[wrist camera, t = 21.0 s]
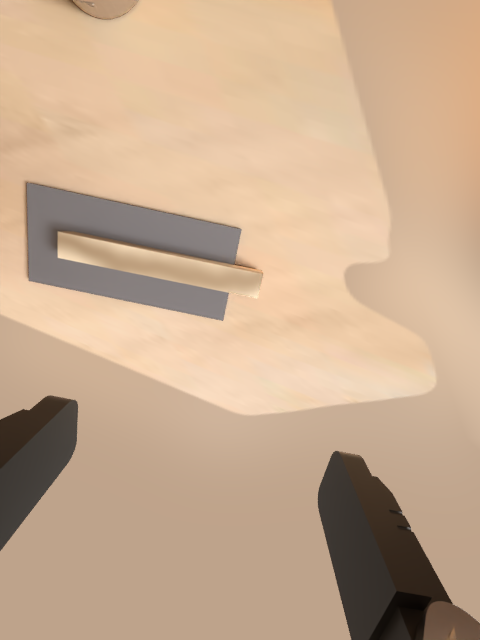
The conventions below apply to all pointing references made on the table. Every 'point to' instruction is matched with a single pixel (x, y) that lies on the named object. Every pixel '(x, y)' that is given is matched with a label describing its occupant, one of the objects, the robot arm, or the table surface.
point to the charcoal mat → (132, 227)
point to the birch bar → (159, 263)
